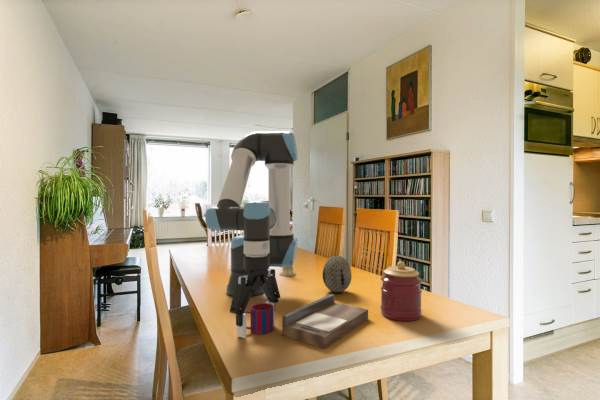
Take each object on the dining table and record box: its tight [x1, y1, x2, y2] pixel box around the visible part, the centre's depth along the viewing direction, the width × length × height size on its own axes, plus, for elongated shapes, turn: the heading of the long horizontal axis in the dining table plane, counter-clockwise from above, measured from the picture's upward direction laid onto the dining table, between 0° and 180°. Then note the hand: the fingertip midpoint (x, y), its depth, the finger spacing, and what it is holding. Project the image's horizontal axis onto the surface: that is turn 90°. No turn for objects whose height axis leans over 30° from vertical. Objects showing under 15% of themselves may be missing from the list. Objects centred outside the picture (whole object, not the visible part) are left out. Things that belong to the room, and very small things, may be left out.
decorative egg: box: [322, 254, 352, 293], centre depth 137 cm, size 12×12×15 cm
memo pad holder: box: [281, 293, 369, 349], centre depth 101 cm, size 14×26×6 cm, turn 144°
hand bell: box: [279, 265, 297, 277], centre depth 168 cm, size 8×8×16 cm
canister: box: [380, 260, 423, 322], centre depth 111 cm, size 13×13×18 cm
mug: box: [244, 302, 275, 335], centre depth 98 cm, size 7×10×7 cm
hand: (256, 330), depth 98 cm, fingers open, 11 cm apart
